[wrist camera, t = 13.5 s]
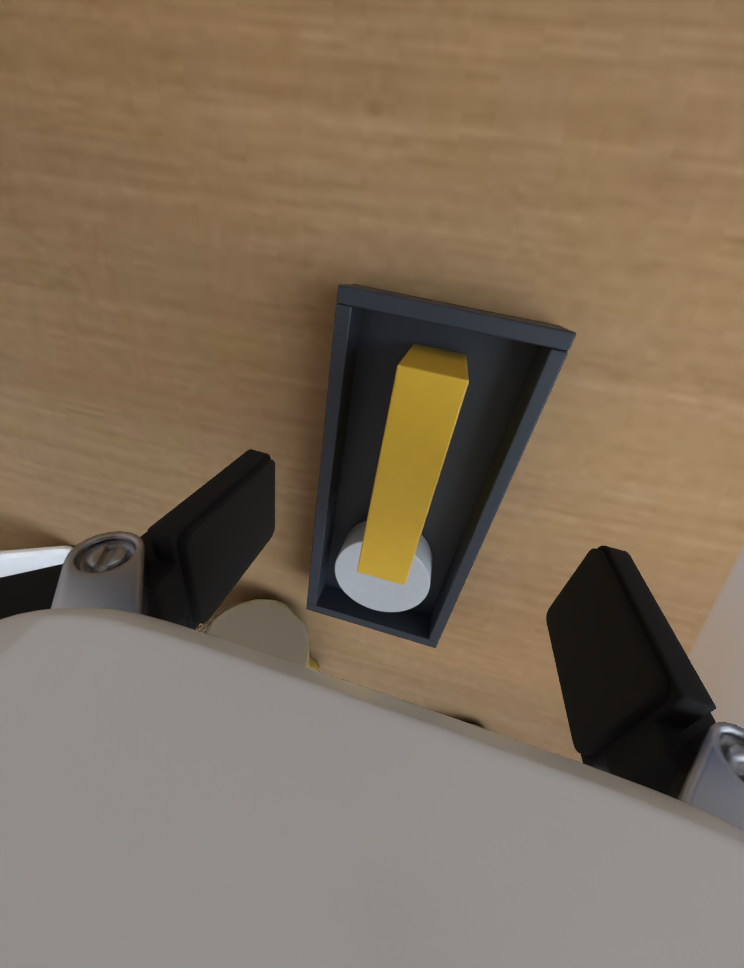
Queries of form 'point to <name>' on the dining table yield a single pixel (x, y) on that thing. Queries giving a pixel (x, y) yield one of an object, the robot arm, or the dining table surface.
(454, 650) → the dining table surface
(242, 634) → the mug
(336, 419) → the tray
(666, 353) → the dining table surface
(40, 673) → the robot arm
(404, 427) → the yellow post on disc
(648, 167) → the dining table surface
